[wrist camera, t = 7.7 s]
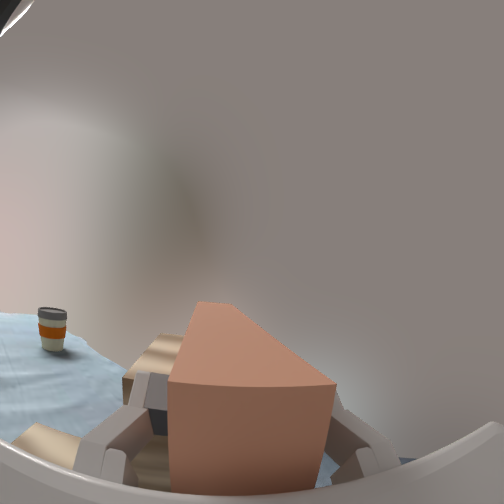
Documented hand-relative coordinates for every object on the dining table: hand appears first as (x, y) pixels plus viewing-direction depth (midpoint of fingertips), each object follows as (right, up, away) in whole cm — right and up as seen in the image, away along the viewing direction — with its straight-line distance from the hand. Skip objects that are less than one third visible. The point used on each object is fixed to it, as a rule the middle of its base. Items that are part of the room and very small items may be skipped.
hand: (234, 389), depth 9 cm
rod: (-2, -4, +10) cm, 10 cm away
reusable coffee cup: (-75, -32, +73) cm, 109 cm away
